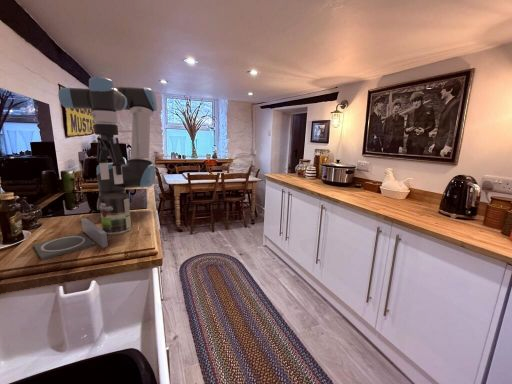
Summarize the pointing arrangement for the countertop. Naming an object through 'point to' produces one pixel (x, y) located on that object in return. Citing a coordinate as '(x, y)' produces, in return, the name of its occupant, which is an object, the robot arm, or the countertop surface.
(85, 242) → the mat
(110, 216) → the coffee can
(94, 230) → the low wall
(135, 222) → the countertop surface
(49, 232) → the countertop surface
